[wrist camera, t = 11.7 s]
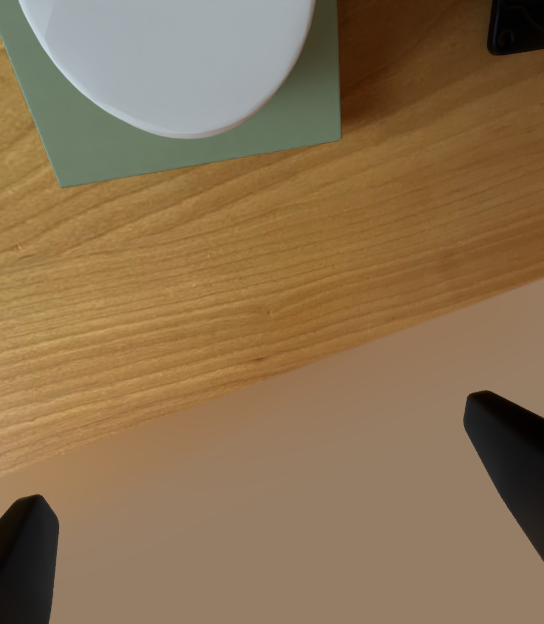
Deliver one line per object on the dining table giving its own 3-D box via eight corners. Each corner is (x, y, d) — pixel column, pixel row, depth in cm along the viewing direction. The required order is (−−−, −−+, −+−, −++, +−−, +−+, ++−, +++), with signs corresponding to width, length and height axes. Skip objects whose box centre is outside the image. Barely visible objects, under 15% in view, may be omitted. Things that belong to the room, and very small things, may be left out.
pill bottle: (251, 120, 14) (317, 178, 7) (102, 103, 13) (7, 151, 6) (266, -63, 12) (389, -247, 5) (87, -100, 11) (-95, -405, 4)
